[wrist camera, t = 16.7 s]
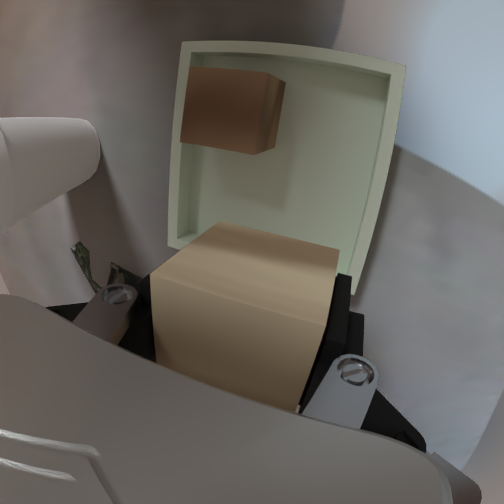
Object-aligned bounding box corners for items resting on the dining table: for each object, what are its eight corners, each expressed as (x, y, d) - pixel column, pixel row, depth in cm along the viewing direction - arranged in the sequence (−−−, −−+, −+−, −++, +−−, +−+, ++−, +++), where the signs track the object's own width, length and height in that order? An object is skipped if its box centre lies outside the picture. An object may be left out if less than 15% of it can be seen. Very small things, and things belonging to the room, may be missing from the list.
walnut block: (221, 74, 19) (189, 66, 15) (285, 82, 18) (267, 72, 14) (212, 136, 21) (179, 142, 17) (274, 147, 20) (253, 155, 16)
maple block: (219, 220, 12) (150, 273, 8) (339, 249, 11) (325, 326, 7) (211, 317, 14) (159, 386, 10) (311, 346, 13) (286, 432, 9)
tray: (199, 47, 19) (182, 41, 17) (399, 72, 16) (406, 65, 14) (184, 234, 26) (167, 246, 24) (355, 277, 23) (354, 295, 20)
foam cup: (128, 142, 24) (-5, 177, 13) (89, 215, 29) (-16, 269, 17) (73, 85, 24) (-45, 99, 12) (42, 157, 28) (-56, 191, 17)
